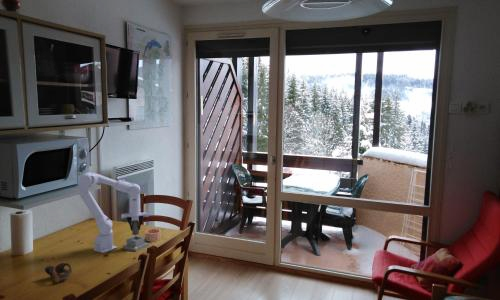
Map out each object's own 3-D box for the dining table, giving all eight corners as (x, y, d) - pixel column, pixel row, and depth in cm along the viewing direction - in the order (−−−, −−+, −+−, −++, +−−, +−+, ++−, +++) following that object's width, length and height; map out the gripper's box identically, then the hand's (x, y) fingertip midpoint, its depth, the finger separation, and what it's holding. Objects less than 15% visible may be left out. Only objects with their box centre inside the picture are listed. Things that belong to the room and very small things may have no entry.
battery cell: (135, 235, 204) (135, 221, 203) (130, 234, 206) (130, 220, 205) (140, 233, 207) (140, 219, 206) (135, 232, 209) (135, 218, 208)
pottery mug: (74, 272, 175) (76, 261, 171) (67, 290, 167) (68, 278, 163) (47, 268, 173) (48, 256, 168) (39, 285, 165) (39, 273, 161)
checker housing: (135, 251, 200) (135, 242, 200) (122, 248, 205) (122, 239, 205) (148, 245, 209) (148, 237, 209) (135, 242, 214) (135, 234, 213)
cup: (153, 242, 214) (153, 234, 213) (142, 240, 218) (142, 232, 217) (163, 238, 221) (163, 230, 221) (152, 235, 225) (152, 227, 225)
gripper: (148, 203, 210) (148, 226, 212) (121, 205, 206) (122, 228, 208) (148, 206, 204) (149, 230, 205) (121, 208, 199) (121, 232, 201)
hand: (135, 229), depth 206 cm, fingers closed on battery cell, 4 cm apart
